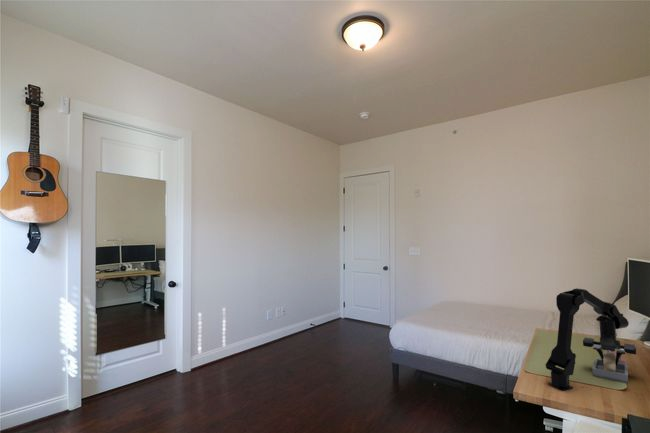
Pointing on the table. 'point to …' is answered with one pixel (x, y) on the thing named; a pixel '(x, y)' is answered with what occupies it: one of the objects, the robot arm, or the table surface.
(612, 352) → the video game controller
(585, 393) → the table surface
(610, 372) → the bin
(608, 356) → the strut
